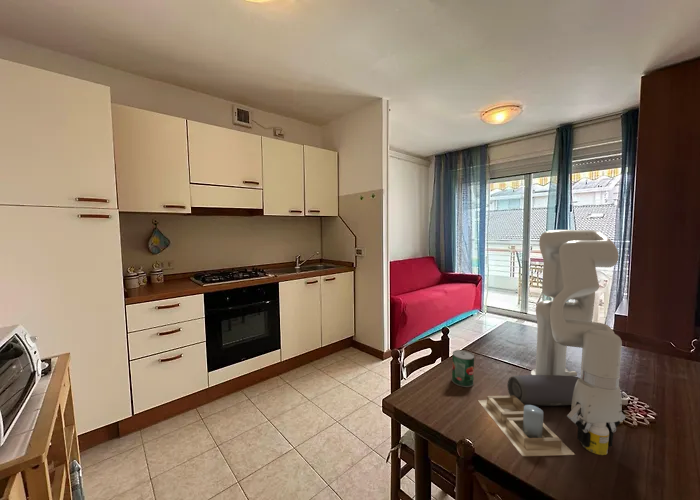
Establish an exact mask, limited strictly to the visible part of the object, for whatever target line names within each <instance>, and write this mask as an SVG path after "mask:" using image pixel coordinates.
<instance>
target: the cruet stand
mask: <svg viewBox="0 0 700 500" xmlns="http://www.w3.org/2000/svg"><path fill="white" fill-rule="evenodd" d="M477 401H478V403H479V404H480V405H481V407H483V410H484V411H485V412H486V413H487V414H488V415H489V417H491V419H492V420H493V421H494V423H495V424H496V426H498V427H499V429H500V430H501V432H502V433H503V434H504V435H505V436H506V438H507V439H508V440H509V441H510V443H511V444H512V445H513V447H515V449H516V450H517V452H518V453H519V454H520V455H521V456H522V457H545V456H546V457H548V456H575V455H576V454H575V453H574V452H573V450H571V449H570V448H569V447H568V446H567V445H566V444H565V443H564V442H563V440H562V439H561V438H560V437H559V436H558V435H556V433H555V432H554V431H552V430H551V428H550V427H548V426H547V425H546V424H545V423H544V422H543V431H542V438H528V437H527V436H526V435H525V433H524V432H523V415H524V406H525V405H526V404H523V403H522V402H521V401H520V400H519V399H518V398H517V397H516V396H515V395H512V396H510V395H487V396H486V399H478V400H477Z"/></svg>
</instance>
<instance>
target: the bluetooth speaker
mask: <svg viewBox="0 0 700 500" xmlns="http://www.w3.org/2000/svg"><path fill="white" fill-rule="evenodd" d="M578 379H580V376H579V377H578V376H562V375H531V374H526V375H522V374H521V375H512V376H510V377H509V379H508V380H507V391H508V395H509V396H512V395H515V396H516V397H517V398H518V399H519V400H520V401H521V402H522V403H523V404H524V405H533V406H549V407H550V406H551V407H553V406H559V407H560V406H571V405H572V397H573V392H574V388H575V385H576V382H577V380H578Z"/></svg>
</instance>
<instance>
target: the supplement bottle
mask: <svg viewBox="0 0 700 500" xmlns="http://www.w3.org/2000/svg"><path fill="white" fill-rule="evenodd" d="M582 424H583V425H584V424H585V421H584V420H583V422H582ZM588 432H589V433H590V446H589V447H586V446H585V445H583V444H582V443H581V442H580V443H581V445H582V447H583V448H584V449H586V450H587V451H588V452H590V453H592V454H595V455H599V456H606V455H608V452H609V451H608V450H609V446H608V441H609V430H608V428H607V427H606V423H604V422H603V423H592V424H591V426H590V429H589V431H588Z"/></svg>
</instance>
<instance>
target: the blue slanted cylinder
mask: <svg viewBox="0 0 700 500" xmlns="http://www.w3.org/2000/svg"><path fill="white" fill-rule="evenodd" d="M524 405H525V406H524V415H523V432H524V433H525V435H526V436H527V437H528V438H542V431H543V423H544V410H543V409H541V408H539V406H537V405H528V404H524Z"/></svg>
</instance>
